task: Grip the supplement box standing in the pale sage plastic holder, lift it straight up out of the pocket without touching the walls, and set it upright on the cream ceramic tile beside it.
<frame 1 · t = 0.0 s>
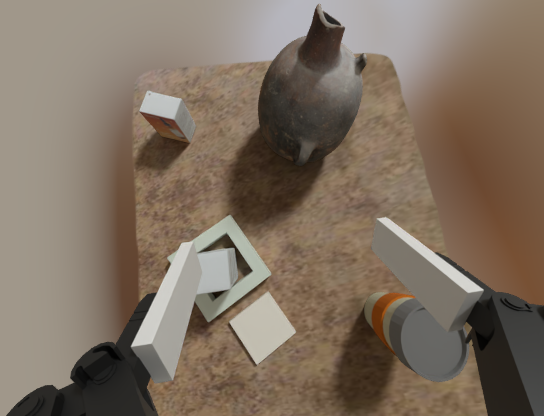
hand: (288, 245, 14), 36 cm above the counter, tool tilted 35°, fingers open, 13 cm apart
reusable coffee cup: (381, 311, 48), on the counter
holder: (222, 264, 48), on the counter
supplement box: (222, 264, 48), resting in holder
tile: (262, 325, 46), on the counter
jug: (297, 135, 55), on the counter
small box: (179, 131, 54), on the counter
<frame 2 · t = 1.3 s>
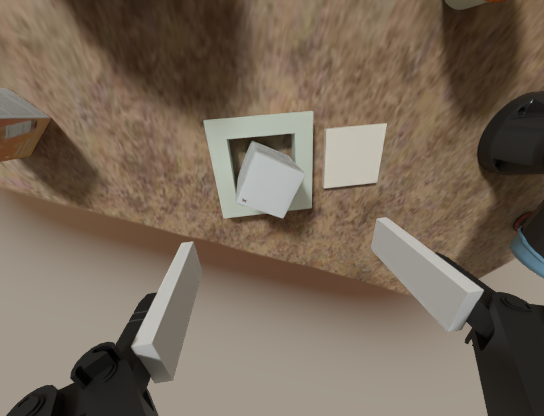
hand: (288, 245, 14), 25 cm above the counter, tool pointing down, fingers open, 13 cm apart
holder: (263, 165, 37), on the counter
supplement box: (263, 165, 37), resting in holder
tile: (351, 156, 38), on the counter
supplement bottle: (523, 220, 51), on the counter
small box: (22, 124, 30), on the counter
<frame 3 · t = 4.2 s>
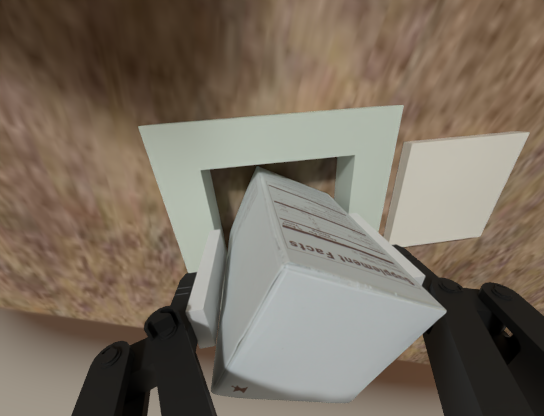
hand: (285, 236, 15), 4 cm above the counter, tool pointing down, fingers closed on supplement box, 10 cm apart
holder: (278, 212, 19), on the counter
supplement box: (277, 211, 19), resting in holder, touching gripper
tile: (442, 193, 20), on the counter
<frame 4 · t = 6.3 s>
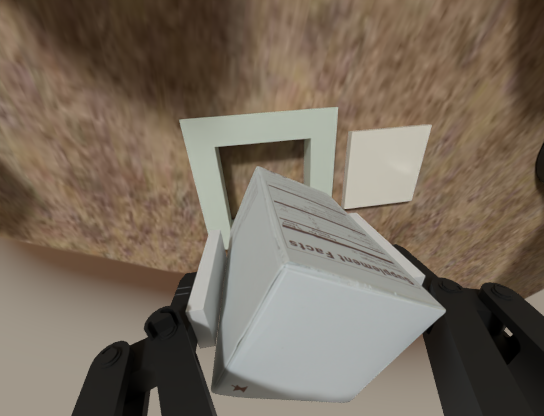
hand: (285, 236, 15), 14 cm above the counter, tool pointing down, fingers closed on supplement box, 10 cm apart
holder: (265, 180, 27), on the counter
supplement box: (277, 211, 19), point 9 cm above the counter, touching gripper
tile: (380, 168, 29), on the counter
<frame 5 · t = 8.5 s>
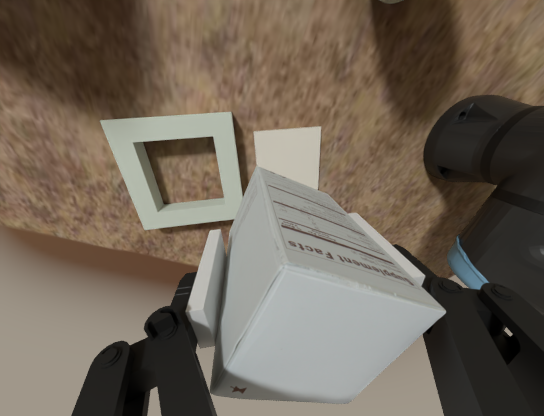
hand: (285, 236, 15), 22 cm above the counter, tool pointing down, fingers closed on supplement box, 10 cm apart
holder: (188, 171, 33), on the counter
supplement box: (277, 211, 19), point 17 cm above the counter, touching gripper
tile: (287, 162, 35), on the counter
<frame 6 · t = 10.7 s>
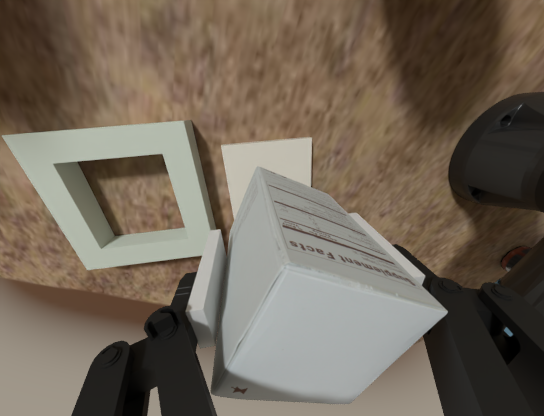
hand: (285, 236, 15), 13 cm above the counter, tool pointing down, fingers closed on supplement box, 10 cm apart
holder: (141, 195, 26), on the counter
supplement box: (277, 211, 19), point 9 cm above the counter, touching gripper
tile: (269, 182, 27), on the counter
supplement bottle: (512, 256, 40), on the counter
when the fingers open (7 cm above the counter, at t = 12.9 s): supplement box drops 1 cm, resting on tile.
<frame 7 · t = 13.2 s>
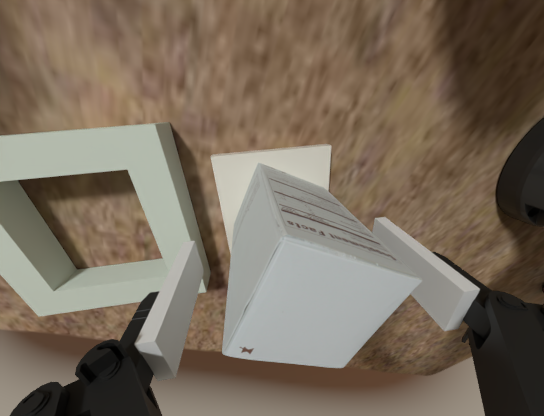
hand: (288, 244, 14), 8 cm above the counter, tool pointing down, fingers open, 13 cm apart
holder: (107, 220, 20), on the counter
supplement box: (278, 204, 20), point 1 cm above the counter, touching tile
tile: (274, 201, 21), on the counter
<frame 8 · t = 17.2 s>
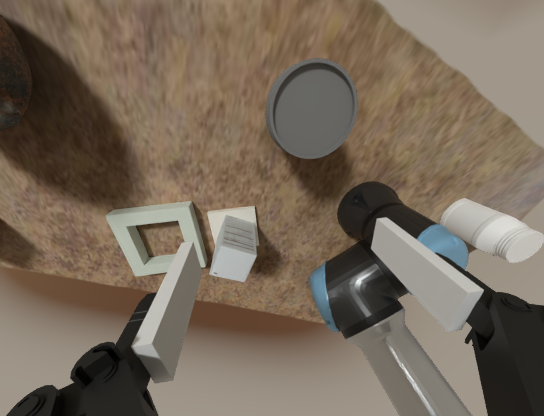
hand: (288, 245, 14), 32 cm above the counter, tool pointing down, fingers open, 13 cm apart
reusable coffee cup: (290, 113, 40), on the counter
holder: (165, 236, 48), on the counter
supplement box: (235, 229, 49), point 1 cm above the counter, touching tile
tile: (234, 228, 50), on the counter
jar: (458, 215, 57), on the counter
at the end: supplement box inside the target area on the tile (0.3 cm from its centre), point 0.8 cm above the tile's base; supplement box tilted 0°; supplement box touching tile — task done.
